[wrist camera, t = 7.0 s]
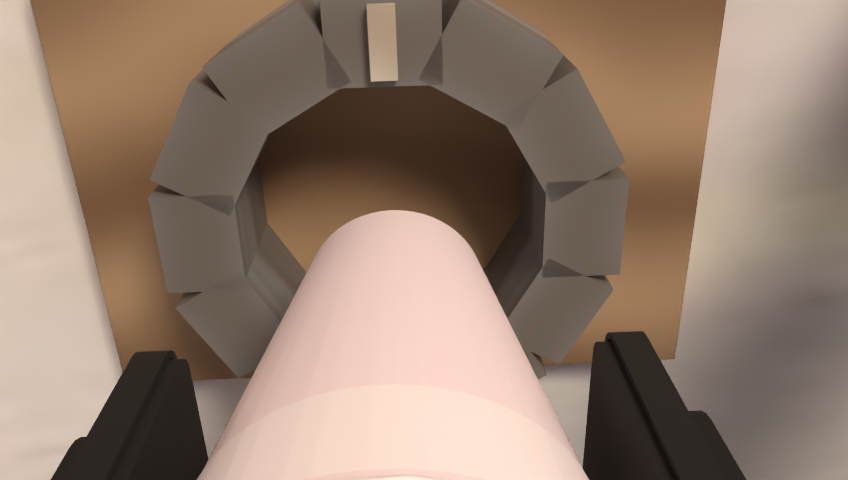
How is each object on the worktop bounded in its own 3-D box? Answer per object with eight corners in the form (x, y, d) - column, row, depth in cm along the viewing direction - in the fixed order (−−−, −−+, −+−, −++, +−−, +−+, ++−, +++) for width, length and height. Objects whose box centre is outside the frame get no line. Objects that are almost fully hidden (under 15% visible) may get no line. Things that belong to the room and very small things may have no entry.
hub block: (659, 334, 26) (720, 436, 21) (140, 356, 25) (80, 465, 20) (712, -71, 20) (812, -57, 15) (45, -49, 20) (-68, -29, 15)
